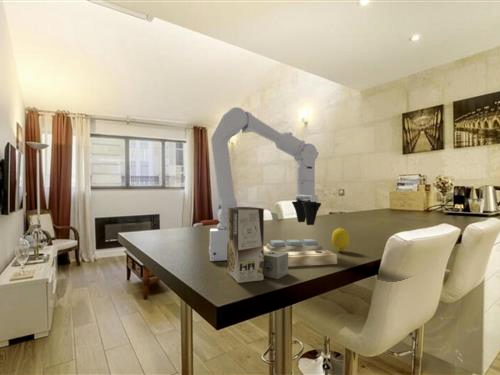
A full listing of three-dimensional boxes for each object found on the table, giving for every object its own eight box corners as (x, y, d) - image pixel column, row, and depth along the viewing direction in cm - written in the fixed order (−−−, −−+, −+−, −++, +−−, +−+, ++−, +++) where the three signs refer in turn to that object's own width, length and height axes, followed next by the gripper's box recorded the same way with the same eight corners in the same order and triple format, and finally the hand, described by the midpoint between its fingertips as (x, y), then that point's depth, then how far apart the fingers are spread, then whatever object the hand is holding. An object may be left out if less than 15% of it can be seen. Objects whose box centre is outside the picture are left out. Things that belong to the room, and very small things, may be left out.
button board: (273, 267, 70) (273, 253, 70) (260, 254, 85) (260, 242, 85) (337, 263, 73) (336, 250, 74) (314, 251, 88) (314, 240, 88)
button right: (306, 246, 80) (306, 241, 80) (301, 244, 84) (301, 239, 84) (317, 246, 81) (317, 241, 81) (312, 243, 84) (312, 238, 84)
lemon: (351, 253, 85) (351, 228, 86) (334, 253, 86) (334, 228, 86) (346, 249, 91) (346, 226, 91) (329, 249, 91) (329, 226, 91)
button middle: (290, 247, 79) (290, 242, 79) (286, 244, 83) (286, 239, 83) (301, 246, 80) (301, 241, 80) (297, 244, 83) (297, 239, 83)
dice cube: (270, 270, 68) (270, 250, 68) (288, 274, 65) (288, 253, 65) (259, 275, 64) (259, 254, 64) (277, 279, 61) (277, 257, 61)
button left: (273, 247, 78) (273, 242, 78) (270, 245, 82) (270, 240, 82) (285, 247, 79) (285, 242, 79) (281, 244, 82) (281, 240, 82)
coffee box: (264, 280, 60) (264, 208, 60) (237, 283, 58) (237, 208, 58) (250, 269, 69) (250, 206, 69) (226, 271, 66) (226, 206, 67)
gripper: (327, 180, 81) (327, 226, 80) (308, 182, 95) (308, 220, 95) (305, 180, 79) (305, 226, 79) (289, 182, 94) (289, 221, 93)
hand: (305, 223), depth 87 cm, fingers open, 7 cm apart
